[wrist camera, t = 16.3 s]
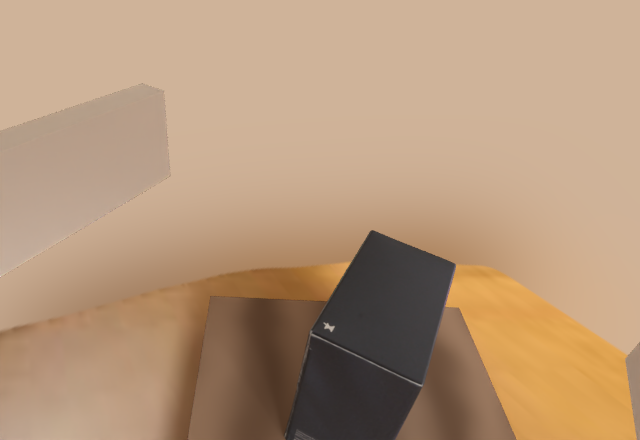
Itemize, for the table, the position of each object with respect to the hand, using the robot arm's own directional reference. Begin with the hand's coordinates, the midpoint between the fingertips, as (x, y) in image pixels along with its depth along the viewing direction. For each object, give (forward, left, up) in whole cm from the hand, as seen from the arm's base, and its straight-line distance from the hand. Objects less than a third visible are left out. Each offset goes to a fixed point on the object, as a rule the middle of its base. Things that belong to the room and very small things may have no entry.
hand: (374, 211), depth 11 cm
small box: (-5, -8, -22) cm, 24 cm away
